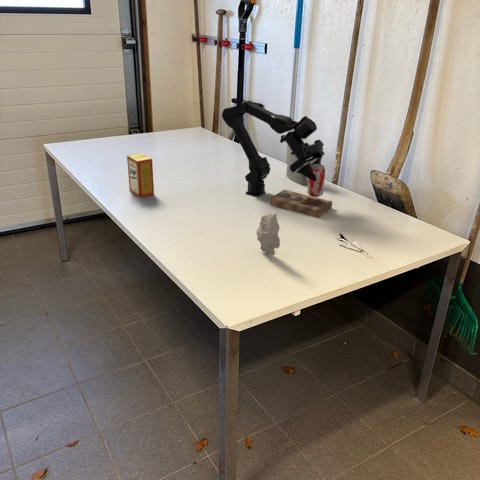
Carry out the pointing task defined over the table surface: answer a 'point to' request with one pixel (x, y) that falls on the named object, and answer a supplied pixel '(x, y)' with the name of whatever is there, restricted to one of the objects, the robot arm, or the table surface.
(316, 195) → the soda can
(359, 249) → the toy airplane
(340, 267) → the table surface
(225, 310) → the table surface
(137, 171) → the baking soda box
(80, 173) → the table surface
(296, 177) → the hip flask
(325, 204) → the wooden tray
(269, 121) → the robot arm
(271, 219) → the grey figurine
